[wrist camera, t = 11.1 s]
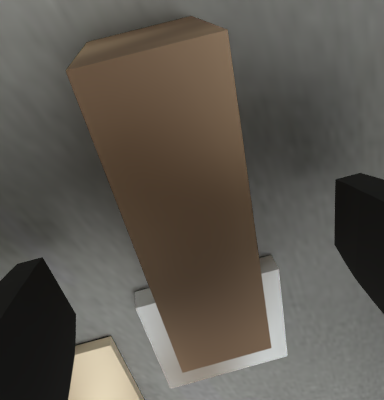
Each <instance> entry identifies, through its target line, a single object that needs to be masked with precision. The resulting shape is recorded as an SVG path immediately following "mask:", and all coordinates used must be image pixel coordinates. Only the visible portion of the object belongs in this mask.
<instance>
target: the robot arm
mask: <svg viewBox="0 0 384 400" xmlns="http://www.w3.org/2000/svg"><path fill="white" fill-rule="evenodd" d="M335 246H336V248H337V249H338V251H339V253H340V255H341V256H342V258H343V260H344V261H345V263H346V265H347V266H348V268H349V269H350V271H351V272H352V274H353V276H354V277H355V279H356V280H357V281H358V283H359V284H360V285H361V286H362V288H363V289H364V290H365V291H366V293H367V294H368V295H369V296H370V298H371V299H372V300H373V301H374V303H375V304H376V305H377V306H378V308H379V309H380V310H381V311H382V313H383V314H384V180H383V179H379V178H376V177H373V176H369V175H365V174H362V173H358V174H355V175H351V176H347V177H343V178H340V179H336V186H335ZM75 338H76V314H75V312H74V310H73V309H72V307H71V305H70V304H69V302H68V300H67V298H66V297H65V295H64V293H63V291H62V290H61V288H60V286H59V285H58V283H57V281H56V279H55V278H54V276H53V274H52V273H51V271H50V269H49V267H48V266H47V264H46V262H45V261H44V259H43V257H42V258H38V259H34V260H31V261H27V262H23V263H19V264H17V265H16V266H15V267H14V268H13V269H12V270H11V271H10V272H9V273H8V274H7V275H6V276H5V277H4V278H3V279H2V280H1V281H0V400H68V397H69V391H70V384H71V378H72V371H73V364H74V357H75Z"/></svg>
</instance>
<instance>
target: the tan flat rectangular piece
mask: <svg viewBox="0 0 384 400" xmlns="http://www.w3.org/2000/svg"><path fill="white" fill-rule="evenodd" d="M68 400H144V398H143V396H142V394H141V392H140V390H139V388H138V387H137V385H136V383H135V381H134V379H133V377H132V375H131V373H130V371H129V370H128V368H127V366H126V364H125V362H124V360H123V358H122V356H121V354H120V352H119V351H118V349H117V347H116V345H115V343H114V341H113V339H112V337H111V336H110V337H106V338H103V339H99V340H95V341H92V342H88V343H84V344H81V345H77V346H75V357H74V364H73V371H72V378H71V384H70V391H69V397H68Z"/></svg>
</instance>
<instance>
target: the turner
mask: <svg viewBox="0 0 384 400" xmlns="http://www.w3.org/2000/svg"><path fill="white" fill-rule="evenodd" d="M66 73H67V76H68V78H69V81H70V83H71V86H72V89H73V91H74V94H75V96H76V99H77V101H78V104H79V107H80V109H81V112H82V114H83V117H84V120H85V122H86V125H87V127H88V130H89V132H90V135H91V138H92V140H93V143H94V145H95V148H96V151H97V153H98V156H99V158H100V161H101V163H102V166H103V169H104V171H105V174H106V176H107V179H108V182H109V184H110V187H111V189H112V192H113V194H114V197H115V200H116V202H117V205H118V207H119V210H120V213H121V215H122V218H123V220H124V223H125V225H126V228H127V231H128V233H129V236H130V238H131V241H132V244H133V246H134V249H135V251H136V254H137V257H138V259H139V262H140V264H141V267H142V269H143V272H144V275H145V277H146V280H147V282H148V285H149V288H148V289H144V290H140V291H136V292H135V309H136V311H137V313H138V316H139V318H140V320H141V323H142V325H143V327H144V329H145V332H146V334H147V336H148V338H149V341H150V343H151V345H152V348H153V350H154V352H155V354H156V357H157V359H158V361H159V364H160V366H161V368H162V370H163V373H164V375H165V377H166V380H167V382H168V384H169V386H170V389H172V388H175V387H179V386H183V385H186V384H190V383H193V382H197V381H200V380H204V379H207V378H211V377H215V376H218V375H222V374H225V373H229V372H232V371H236V370H239V369H243V368H246V367H250V366H254V365H257V364H261V363H264V362H268V361H271V360H275V359H278V358H282V357H286V356H288V355H287V345H286V335H285V325H284V315H283V305H282V295H281V285H280V275H279V268H278V267H277V265H276V263H275V261H274V259H273V257H272V256H271V255H270V256H266V257H262V258H259V254H258V246H257V239H256V232H255V225H254V218H253V210H252V203H251V196H250V189H249V181H248V174H247V167H246V160H245V152H244V145H243V138H242V131H241V123H240V116H239V109H238V102H237V94H236V87H235V80H234V73H233V66H232V58H231V51H230V44H229V37H228V30H227V29H224V28H222V27H219V26H216V25H214V24H211V23H209V22H206V21H203V20H201V19H198V18H196V17H193V16H189V17H185V18H181V19H177V20H173V21H169V22H165V23H161V24H157V25H153V26H149V27H145V28H141V29H137V30H133V31H129V32H125V33H121V34H117V35H113V36H109V37H105V38H101V39H97V40H93V41H89V42H87V43H86V44H85V46H84V47H83V48H82V50H81V51H80V52H79V54H78V55H77V56H76V57H75V59H74V60H73V61H72V63H71V64H70V65H69V67H68V68H67V69H66Z"/></svg>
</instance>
